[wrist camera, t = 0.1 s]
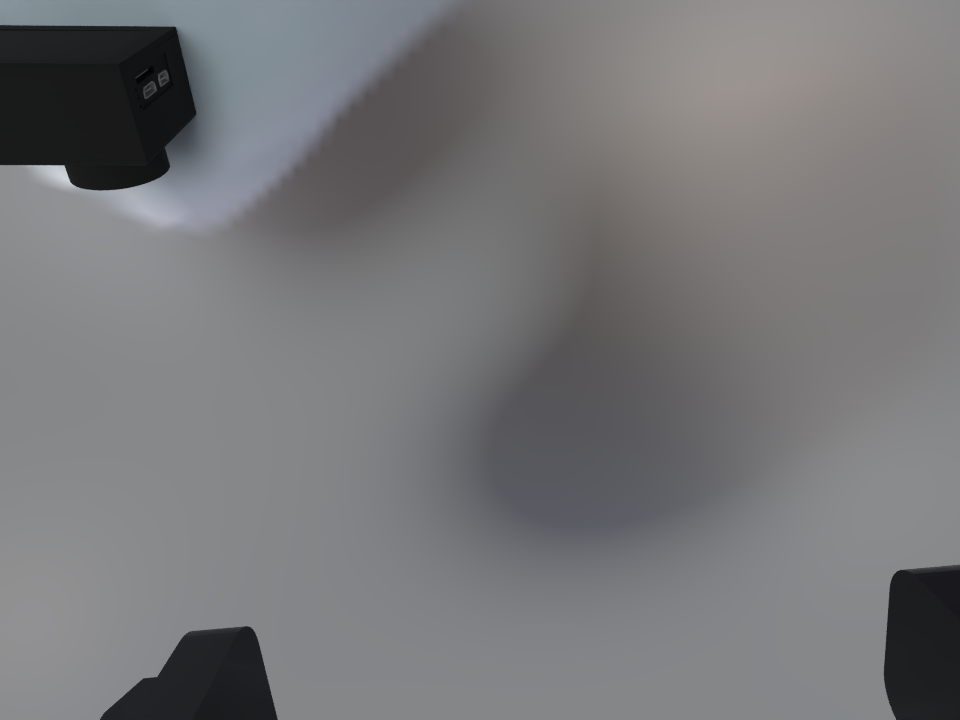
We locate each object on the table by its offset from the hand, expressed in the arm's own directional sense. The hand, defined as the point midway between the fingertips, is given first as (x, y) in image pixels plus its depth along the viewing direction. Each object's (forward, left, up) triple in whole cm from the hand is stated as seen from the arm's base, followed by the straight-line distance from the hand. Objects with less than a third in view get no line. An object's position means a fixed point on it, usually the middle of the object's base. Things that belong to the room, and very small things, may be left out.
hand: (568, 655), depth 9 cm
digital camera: (-13, -16, -32) cm, 38 cm away
